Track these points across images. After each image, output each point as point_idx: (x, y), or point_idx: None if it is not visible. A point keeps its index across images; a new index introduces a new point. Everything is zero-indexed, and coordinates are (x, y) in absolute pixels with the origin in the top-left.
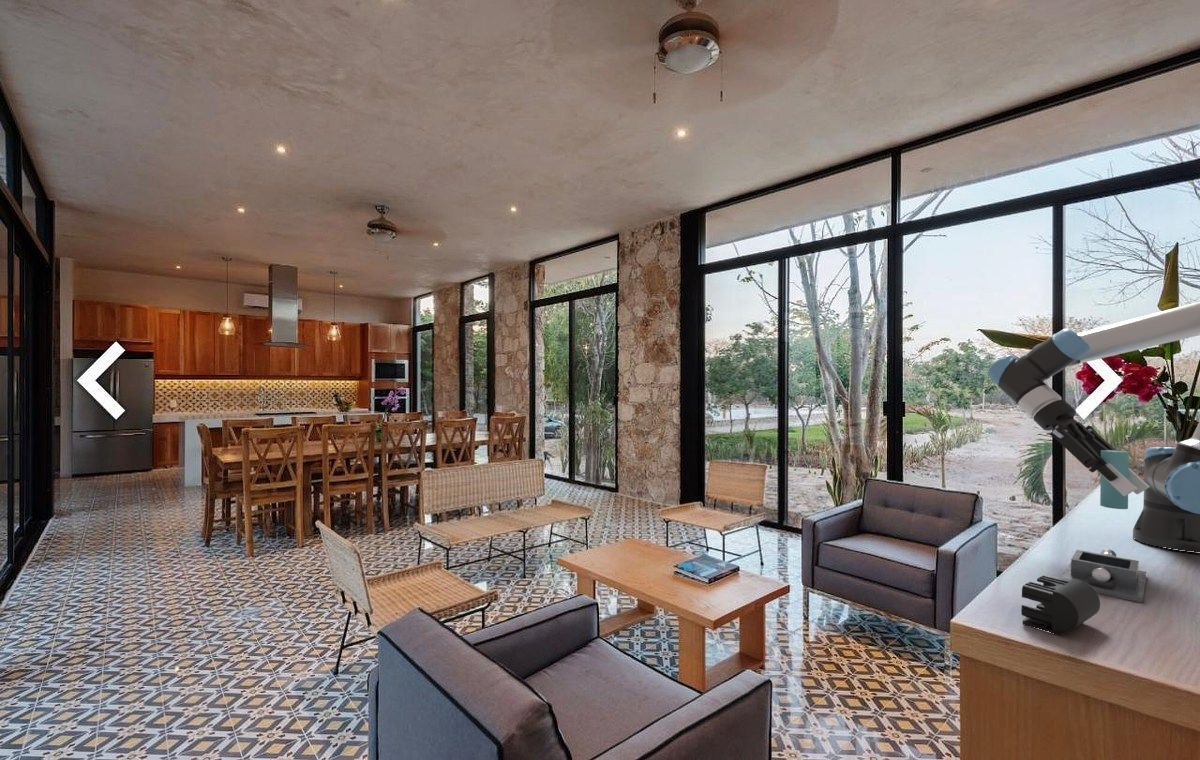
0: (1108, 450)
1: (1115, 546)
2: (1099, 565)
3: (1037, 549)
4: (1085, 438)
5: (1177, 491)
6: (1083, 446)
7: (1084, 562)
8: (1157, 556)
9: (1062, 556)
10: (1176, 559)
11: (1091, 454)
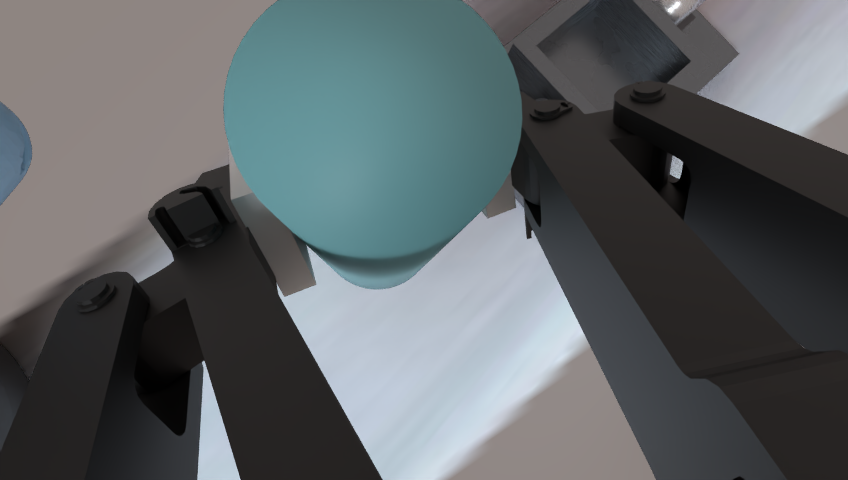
0: (356, 214)
1: (204, 421)
2: (667, 17)
3: (553, 369)
4: (700, 381)
5: (6, 118)
6: (792, 187)
7: (689, 42)
8: None
9: (527, 292)
10: (133, 267)
11: (686, 123)
